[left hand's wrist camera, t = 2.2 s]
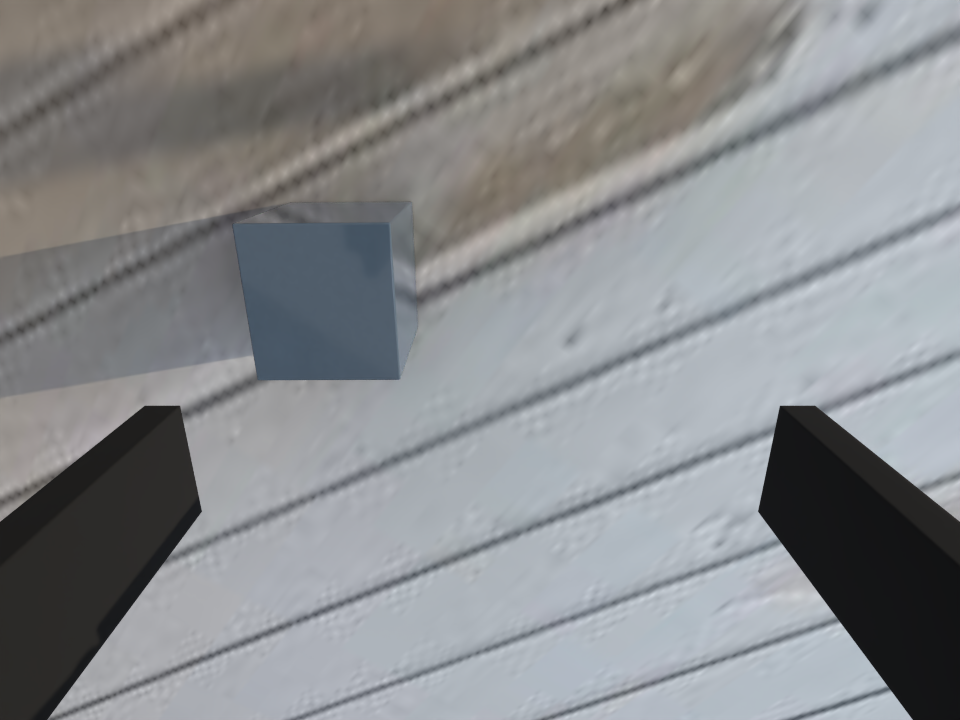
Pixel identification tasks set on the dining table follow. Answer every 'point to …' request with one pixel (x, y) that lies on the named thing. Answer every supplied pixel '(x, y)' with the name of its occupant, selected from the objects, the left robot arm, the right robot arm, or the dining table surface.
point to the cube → (329, 289)
